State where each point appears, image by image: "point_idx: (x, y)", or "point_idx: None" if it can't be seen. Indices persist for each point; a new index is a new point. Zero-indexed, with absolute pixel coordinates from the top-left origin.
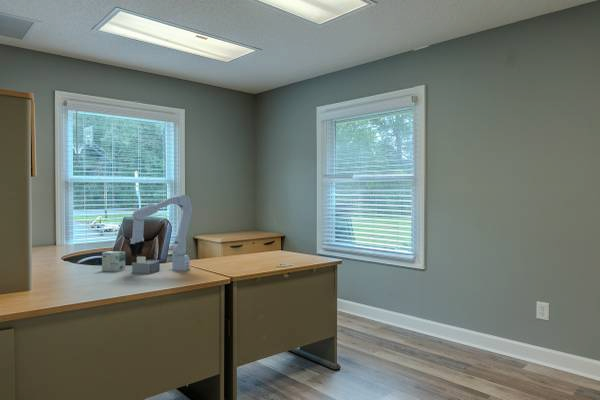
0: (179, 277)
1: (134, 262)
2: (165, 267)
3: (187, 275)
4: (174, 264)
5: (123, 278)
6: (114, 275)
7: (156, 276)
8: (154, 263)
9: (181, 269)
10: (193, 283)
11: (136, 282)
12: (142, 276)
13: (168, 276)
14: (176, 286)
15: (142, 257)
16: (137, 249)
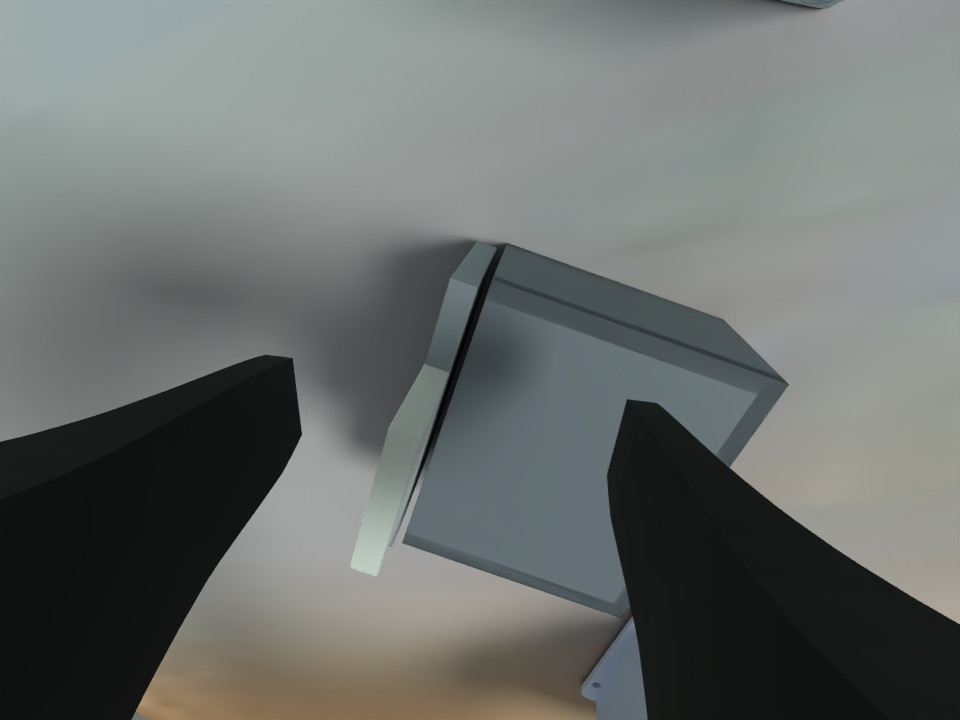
0: (322, 657)
1: (467, 315)
2: (867, 550)
3: (403, 698)
4: (639, 696)
5: (166, 220)
6: (315, 6)
7: (333, 515)
8: (491, 570)
9: (608, 687)
10: (164, 712)
11: (51, 399)
12: (312, 399)
13: (348, 596)
14: None
15: (364, 522)
16: (177, 608)
